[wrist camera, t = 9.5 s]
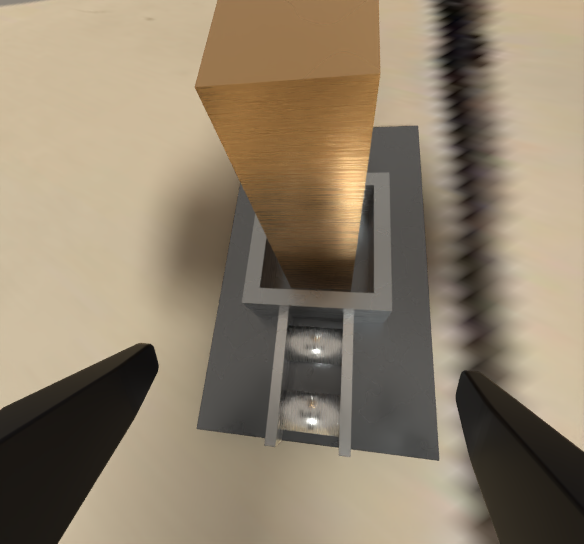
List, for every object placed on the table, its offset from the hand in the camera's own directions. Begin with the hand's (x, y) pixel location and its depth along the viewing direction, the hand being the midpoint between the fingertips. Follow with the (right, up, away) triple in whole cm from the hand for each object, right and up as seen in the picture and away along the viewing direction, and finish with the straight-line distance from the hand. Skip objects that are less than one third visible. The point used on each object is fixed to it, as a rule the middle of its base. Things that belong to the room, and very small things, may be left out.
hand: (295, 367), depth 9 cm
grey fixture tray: (+2, +3, +11) cm, 11 cm away
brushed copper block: (+2, +4, +10) cm, 10 cm away
